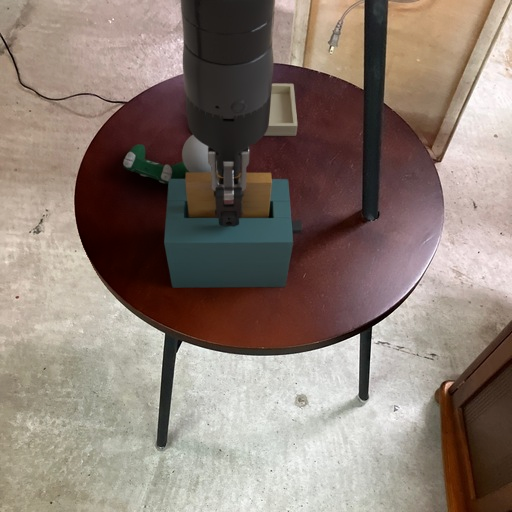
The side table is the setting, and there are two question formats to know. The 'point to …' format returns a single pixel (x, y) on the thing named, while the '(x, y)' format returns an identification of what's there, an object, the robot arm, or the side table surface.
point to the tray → (282, 111)
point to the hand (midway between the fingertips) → (228, 204)
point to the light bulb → (195, 156)
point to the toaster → (229, 244)
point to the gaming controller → (152, 166)
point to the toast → (205, 203)
